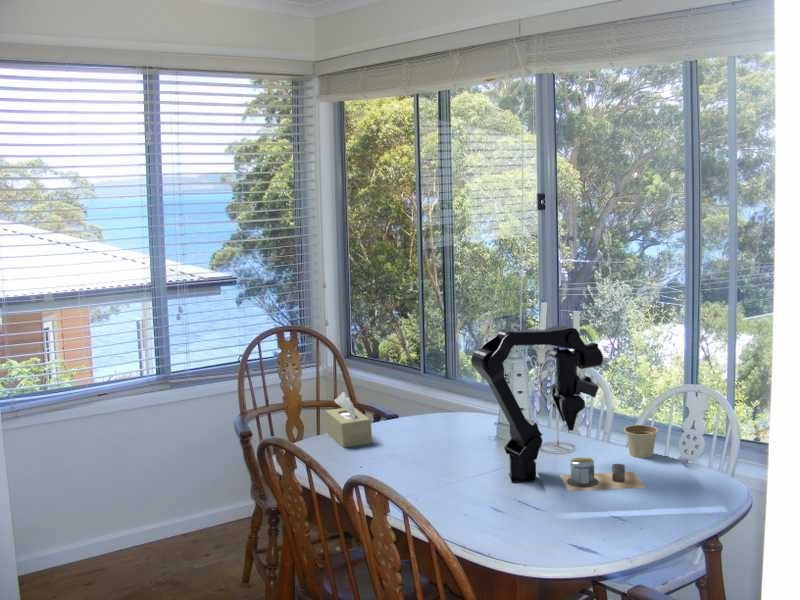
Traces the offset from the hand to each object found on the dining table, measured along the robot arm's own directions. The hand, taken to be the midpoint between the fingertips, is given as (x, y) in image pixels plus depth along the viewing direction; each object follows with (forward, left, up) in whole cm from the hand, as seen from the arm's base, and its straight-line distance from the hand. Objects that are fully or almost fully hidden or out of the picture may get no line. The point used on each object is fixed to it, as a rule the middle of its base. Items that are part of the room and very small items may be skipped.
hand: (567, 425), depth 233 cm
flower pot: (+22, +6, -13) cm, 26 cm away
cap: (+1, -14, -11) cm, 18 cm away
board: (+6, -14, -12) cm, 20 cm away
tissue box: (-65, +39, -13) cm, 77 cm away
